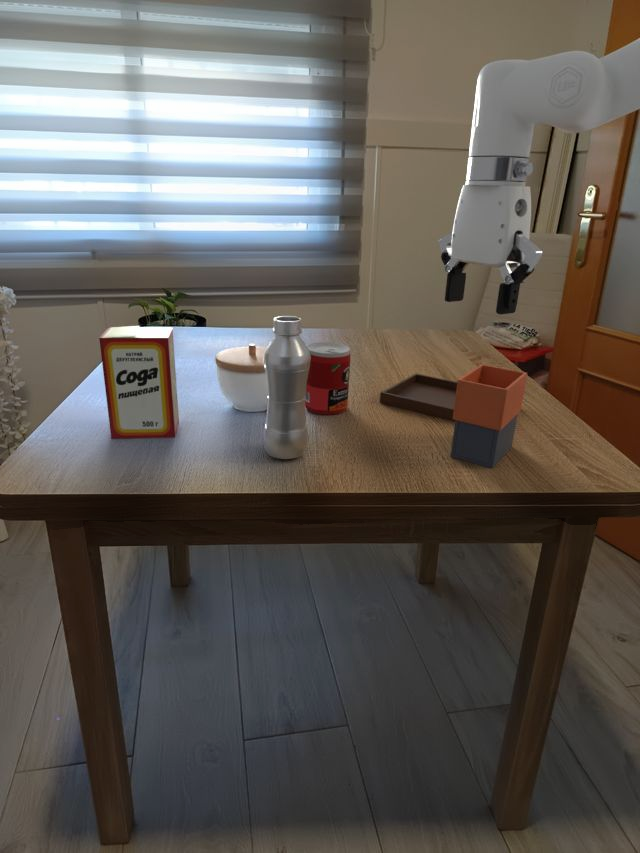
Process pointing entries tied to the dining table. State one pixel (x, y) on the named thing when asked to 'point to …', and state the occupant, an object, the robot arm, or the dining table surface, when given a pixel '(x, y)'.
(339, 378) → the canned food
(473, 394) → the terracotta tub
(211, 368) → the dining table surface
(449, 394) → the tray
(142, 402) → the baking soda box
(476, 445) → the grey tub
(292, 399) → the silver metal bottle
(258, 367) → the lidded bowl
